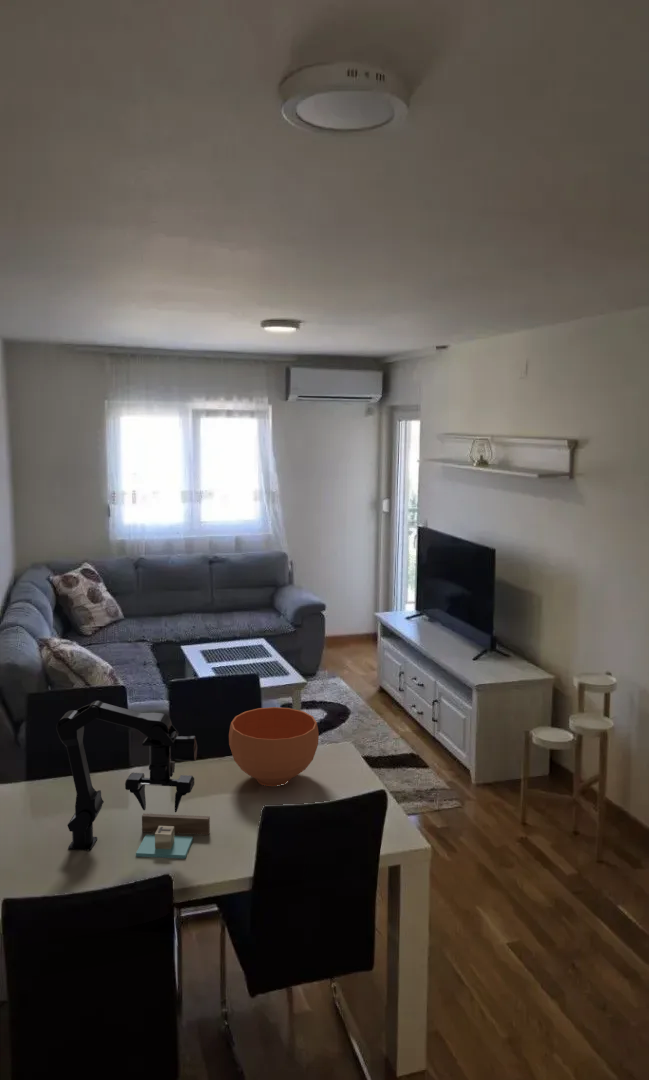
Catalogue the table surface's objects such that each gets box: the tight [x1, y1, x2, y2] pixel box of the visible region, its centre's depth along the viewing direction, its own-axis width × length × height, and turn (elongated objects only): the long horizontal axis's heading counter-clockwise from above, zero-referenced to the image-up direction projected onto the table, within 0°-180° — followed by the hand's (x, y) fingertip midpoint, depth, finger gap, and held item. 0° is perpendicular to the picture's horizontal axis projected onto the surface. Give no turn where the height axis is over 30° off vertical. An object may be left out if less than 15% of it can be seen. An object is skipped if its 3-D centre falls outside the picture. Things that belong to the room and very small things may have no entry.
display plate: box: [135, 834, 194, 859], centre depth 225 cm, size 10×14×1 cm
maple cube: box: [154, 826, 175, 849], centre depth 225 cm, size 4×4×5 cm
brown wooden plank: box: [141, 813, 211, 836], centre depth 234 cm, size 2×20×5 cm, turn 87°
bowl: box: [228, 706, 320, 787], centre depth 268 cm, size 30×30×20 cm
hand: (160, 810), depth 225 cm, fingers open, 9 cm apart
